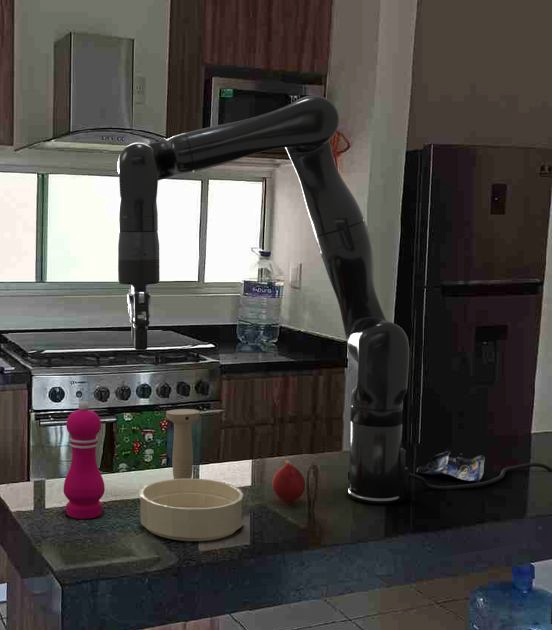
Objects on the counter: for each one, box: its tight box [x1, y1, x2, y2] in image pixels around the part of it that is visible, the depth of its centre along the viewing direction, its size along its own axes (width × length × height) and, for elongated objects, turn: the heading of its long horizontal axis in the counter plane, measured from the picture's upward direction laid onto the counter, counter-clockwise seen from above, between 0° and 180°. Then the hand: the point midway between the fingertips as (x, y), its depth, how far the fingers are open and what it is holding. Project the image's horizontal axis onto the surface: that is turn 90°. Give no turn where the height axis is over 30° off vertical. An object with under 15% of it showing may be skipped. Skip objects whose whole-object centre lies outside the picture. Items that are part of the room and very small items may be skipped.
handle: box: [165, 408, 201, 479], centre depth 160 cm, size 5×6×15 cm
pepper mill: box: [62, 400, 106, 520], centre depth 144 cm, size 7×7×20 cm
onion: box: [271, 460, 306, 505], centre depth 150 cm, size 6×6×8 cm
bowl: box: [139, 477, 245, 542], centre depth 139 cm, size 17×17×6 cm
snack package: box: [416, 450, 486, 483], centre depth 168 cm, size 12×6×12 cm
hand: (139, 347), depth 150 cm, fingers open, 8 cm apart
